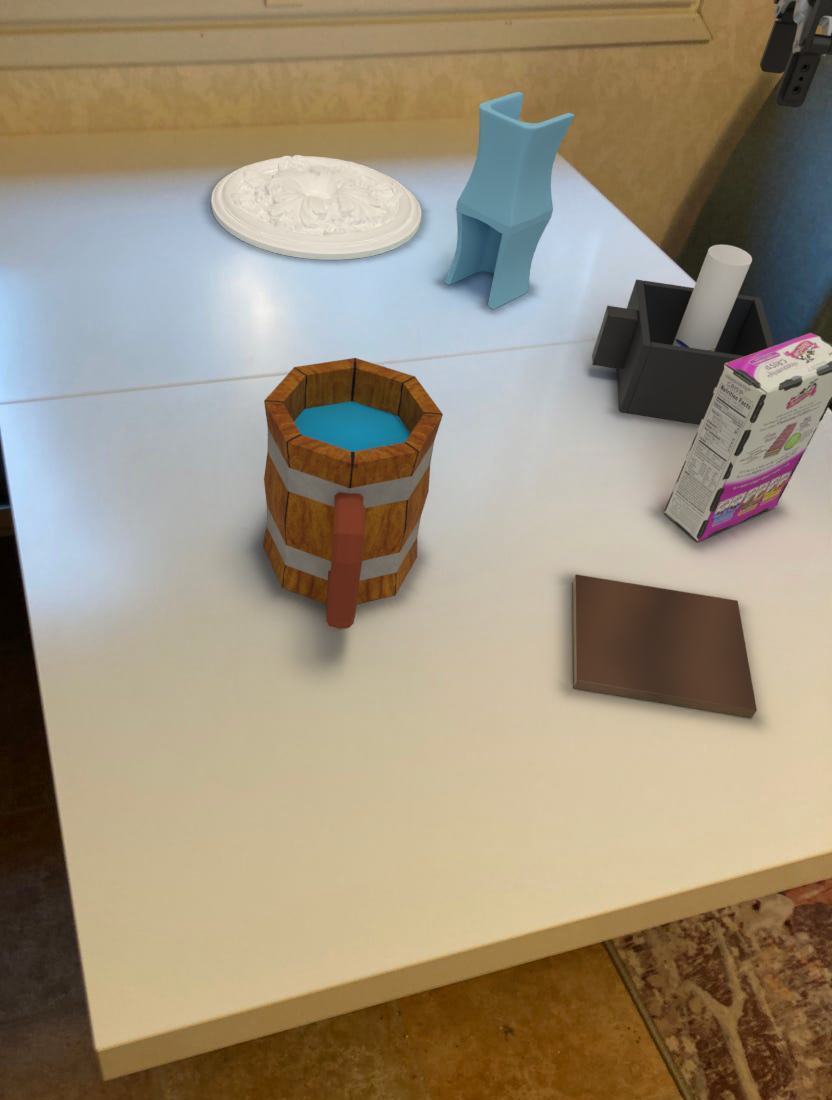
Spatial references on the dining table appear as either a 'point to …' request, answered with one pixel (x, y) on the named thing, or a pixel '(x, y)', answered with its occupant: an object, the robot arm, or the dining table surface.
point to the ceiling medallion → (316, 208)
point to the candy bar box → (752, 435)
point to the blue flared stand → (506, 197)
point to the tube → (713, 297)
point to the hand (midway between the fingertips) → (778, 87)
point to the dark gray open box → (672, 351)
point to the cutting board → (660, 646)
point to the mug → (346, 481)
